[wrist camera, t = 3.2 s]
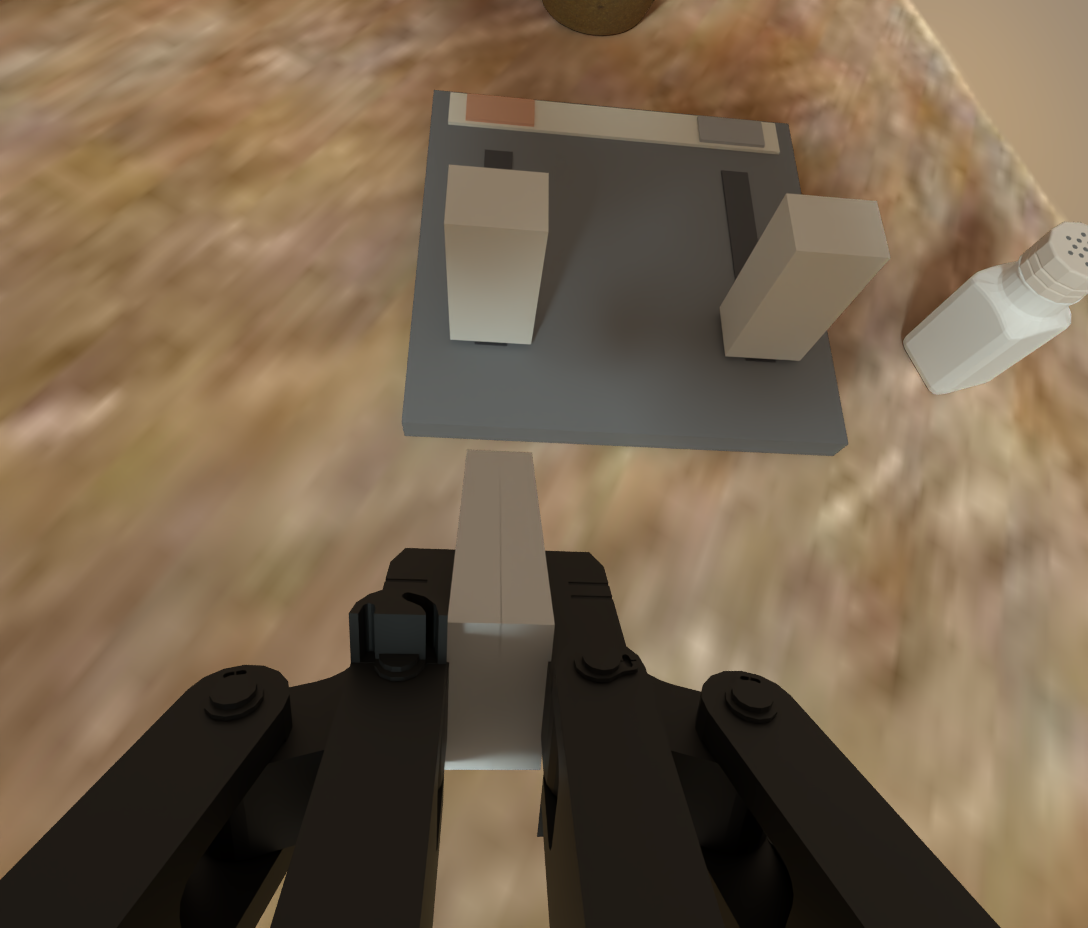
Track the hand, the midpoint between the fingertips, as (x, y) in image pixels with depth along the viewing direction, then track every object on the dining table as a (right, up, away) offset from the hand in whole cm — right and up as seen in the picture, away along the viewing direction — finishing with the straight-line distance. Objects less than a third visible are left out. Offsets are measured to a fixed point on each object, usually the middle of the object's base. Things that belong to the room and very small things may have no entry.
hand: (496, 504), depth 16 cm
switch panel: (+5, +12, +22) cm, 25 cm away
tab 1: (-2, +8, +18) cm, 20 cm away
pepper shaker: (+24, +7, +22) cm, 33 cm away
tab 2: (+12, +8, +19) cm, 24 cm away
